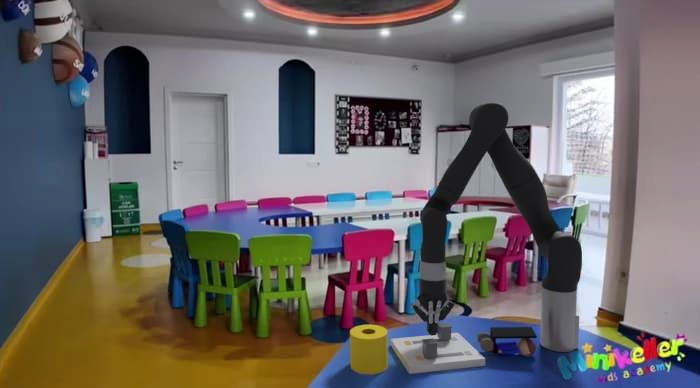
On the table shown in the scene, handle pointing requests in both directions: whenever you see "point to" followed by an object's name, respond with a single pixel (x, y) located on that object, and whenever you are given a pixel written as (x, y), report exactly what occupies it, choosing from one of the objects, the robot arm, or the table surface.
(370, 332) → the tape roll
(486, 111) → the robot arm
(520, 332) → the black toy car
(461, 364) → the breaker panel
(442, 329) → the handle
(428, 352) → the on handle
